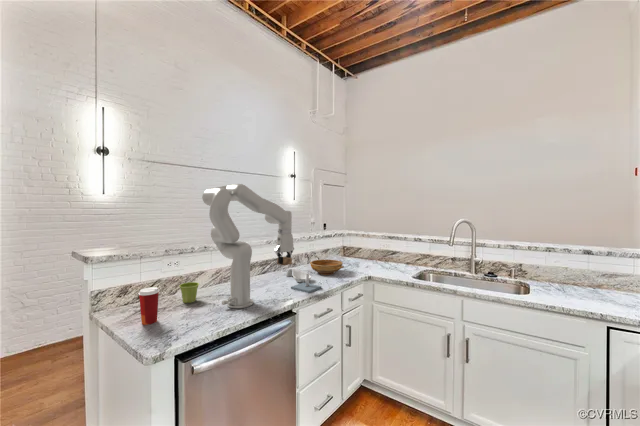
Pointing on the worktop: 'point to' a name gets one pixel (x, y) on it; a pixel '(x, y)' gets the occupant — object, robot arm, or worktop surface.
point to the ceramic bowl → (326, 266)
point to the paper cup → (149, 305)
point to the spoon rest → (297, 275)
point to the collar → (286, 261)
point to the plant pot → (189, 291)
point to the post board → (306, 286)
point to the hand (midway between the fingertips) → (284, 262)
